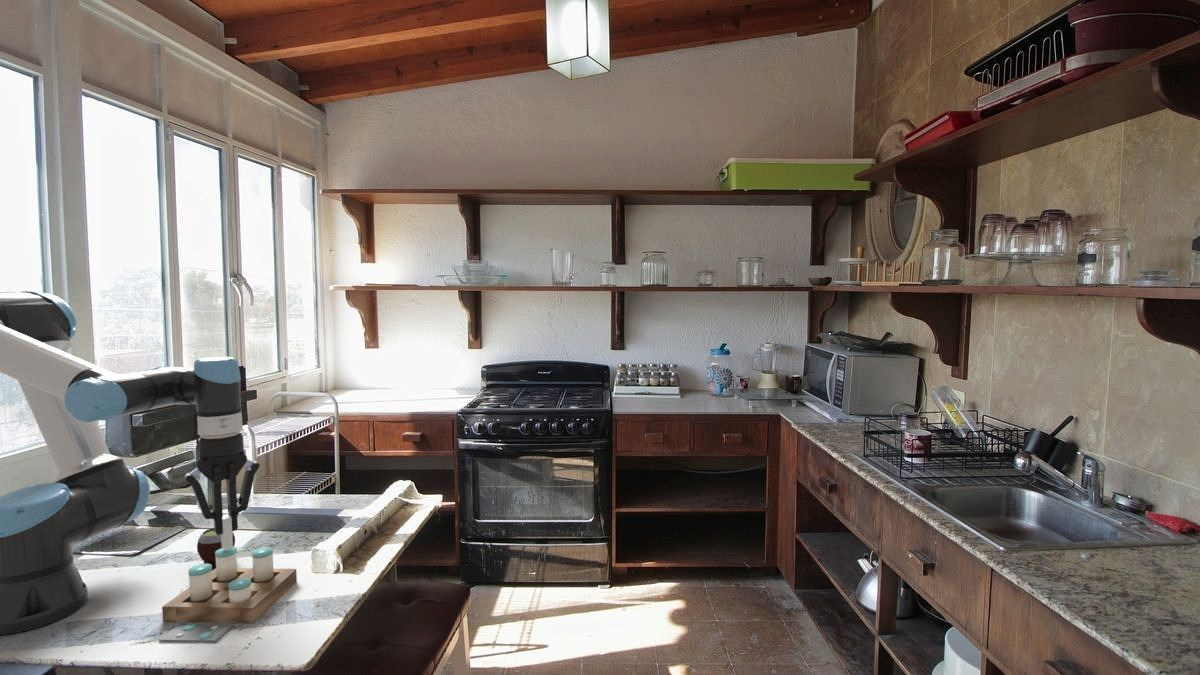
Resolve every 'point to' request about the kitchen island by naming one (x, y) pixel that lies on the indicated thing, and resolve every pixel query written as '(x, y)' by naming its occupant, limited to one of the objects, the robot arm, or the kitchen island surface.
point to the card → (197, 633)
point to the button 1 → (200, 582)
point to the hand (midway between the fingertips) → (227, 547)
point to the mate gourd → (210, 545)
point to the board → (218, 603)
